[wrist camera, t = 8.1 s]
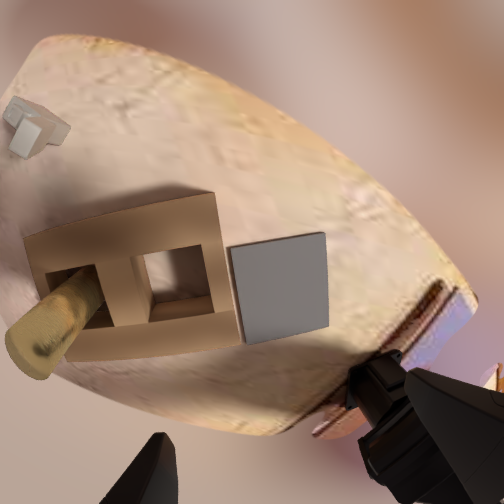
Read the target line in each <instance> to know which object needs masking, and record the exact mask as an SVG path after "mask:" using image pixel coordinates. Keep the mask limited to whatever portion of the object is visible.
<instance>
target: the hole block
mask: <svg viewBox="0 0 504 504" xmlns="http://www.w3.org/2000/svg"><path fill="white" fill-rule="evenodd" d="M23 240H24V244H25V249H26V253H27V257H28V260H29V264H30V268H31V271H32V275H33V278H34V281H35V284H36V287H37V290H38V293H39V296H40V299H41V300H43V299H44V298H45V297H46V296H48V295H49V294H50V293H51V292H52V291H54V290H55V289H56V288H57V287H59V286H60V285H61V284H62V283H64V282H65V281H66V280H68V277H67V273H66V270H65V269H70V268H75V267H80V266H85V265H90V264H95V266H96V270H97V273H98V277H99V280H100V284H101V287H102V290H103V293H104V296H105V300H106V303H107V306H108V309H109V310H107V311H99V312H95V313H94V314H93V316H92V317H91V318H90V320H89V321H88V322H87V324H86V325H85V326H84V328H83V329H82V330H81V332H80V333H79V334H78V336H77V337H76V338H75V340H74V341H73V342H72V344H71V345H70V347H69V348H68V349H67V351H66V352H65V354H64V356H65V358H66V360H67V362H87V361H110V360H125V359H138V358H149V357H159V356H168V355H176V354H184V353H191V352H199V351H205V350H212V349H218V348H224V347H230V346H236V345H241V343H240V337H239V332H238V327H237V322H236V316H235V311H234V305H233V300H232V294H231V289H230V283H229V277H228V272H227V266H226V260H225V254H224V248H223V242H222V236H221V230H220V223H219V217H218V211H217V204H216V198H215V193H214V192H212V193H206V194H201V195H195V196H189V197H184V198H178V199H173V200H168V201H163V202H158V203H153V204H148V205H143V206H139V207H134V208H130V209H125V210H121V211H116V212H112V213H108V214H104V215H100V216H96V217H92V218H88V219H84V220H80V221H76V222H73V223H69V224H65V225H62V226H58V227H55V228H51V229H48V230H44V231H42V232H39V233H36V234H33V235H31V236H28V237H25V238H23ZM199 244H201V246H202V252H203V257H204V262H205V267H206V273H207V278H208V283H209V287H210V292H211V295H208V296H202V297H196V298H190V299H184V300H177V301H171V302H164V303H158V304H156V303H155V300H154V296H153V293H152V289H151V285H150V281H149V278H148V274H147V270H146V266H145V261H144V257H143V254H149V253H154V252H160V251H165V250H171V249H176V248H182V247H188V246H193V245H199Z"/></svg>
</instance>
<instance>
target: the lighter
mask: <svg viewBox="0 0 504 504" xmlns="http://www.w3.org/2000/svg"><path fill="white" fill-rule="evenodd" d="M3 119H4V120H5V121H6V122H8V123H9V124H10V125H11V126H12V127H13V128H14V129H16V130H17V131H16V133H15V135H14V137H13V139H12V141H11V143H10V146H9V150H11V151H12V152H14V153H16V154H17V155H19V156H20V157H22V158H24V159H25V160H27V159H29V158H31V157H32V156H34V155H36V154H37V153H39V152H41V151H42V150H43V149H44V148H45V146H46V144H53V145H58V146H59V145H61V144H62V143H63V141H64V139H65V137H66V136H67V134H68V132H69V131H70V129H71V126H70V125H69V124H67V123H66V122H64V121H63V120H62V119H60V118H59V117H57V116H56V115H55V114H53V113H52V112H50V111H49V110H48V109H46V108H45V107H43V106H40V105H38V104H35V103H33V102H30V101H28V100H25V99H23V98H20V97H17V96H13V97H12V99H11V101H10V102H9V104H8V106H7V107H6V110H5V111H4V113H3Z"/></svg>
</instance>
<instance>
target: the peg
mask: <svg viewBox="0 0 504 504" xmlns="http://www.w3.org/2000/svg"><path fill="white" fill-rule="evenodd" d="M104 301H105V296H104V293H103V290H102V287H101V284H100V280H99V277H98V273H97V270H96V266H94V265H88V266H85V267H83V268H82V269H81V270H79V271H78V272H77V273H75V274H74V275H73V276H71V277H70V278H69V279H68V280H66V281H65V282H64V283H62V284H61V285H60V286H59V287H57V288H56V289H55V290H54V291H52V292H51V293H50V294H49V295H48V296H46V297H45V298H44V299H43V300H41V301H40V302H39V303H38V304H37V305H36V306H34V307H33V308H32V309H31V310H30V311H29V312H27V313H26V314H25V315H24V316H23V317H22V318H21V319H19V320H18V321H17V322H16V323H15V324H14V325H13V326H12V327H11V328H10V329H9V330H8V331H7V332H6V334H5V344H6V348H7V351H8V353H9V355H10V357H11V359H12V360H13V362H14V363H15V364H16V365H17V367H18V368H19V369H21V371H23V372H24V373H25V374H27V375H28V376H29V377H31V378H34V379H36V380H45V379H47V378H48V377H49V376H50V374H51V373H52V371H53V370H54V368H55V367H56V365H57V364H58V362H59V361H60V359H61V358H62V356H63V355H64V354H65V352H66V351H67V349H68V348H69V347H70V345H71V344H72V342H73V341H74V340H75V338H76V337H77V336H78V334H79V333H80V332H81V330H82V329H83V328H84V326H85V325H86V324H87V322H88V321H89V320H90V318H91V317H92V316H93V314H94V313H95V312H96V311H97V309H98V308H99V307H100V306H101V304H102V303H103V302H104Z"/></svg>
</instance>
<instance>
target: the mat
mask: <svg viewBox="0 0 504 504" xmlns="http://www.w3.org/2000/svg"><path fill="white" fill-rule="evenodd" d="M230 249H231V256H232V262H233V268H234V274H235V280H236V286H237V292H238V298H239V304H240V309H241V315H242V321H243V326H244V332H245V338H246V343H247V345H251V344H256V343H261V342H266V341H270V340H275V339H280V338H284V337H289V336H293V335H297V334H301V333H306V332H310V331H314V330H318V329H321V328H325V327H329V298H328V270H327V251H326V236H325V233H324V232H323V233H317V234H311V235H305V236H299V237H293V238H287V239H280V240H274V241H268V242H262V243H257V244H251V245H245V246H239V247H233V248H230Z"/></svg>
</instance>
